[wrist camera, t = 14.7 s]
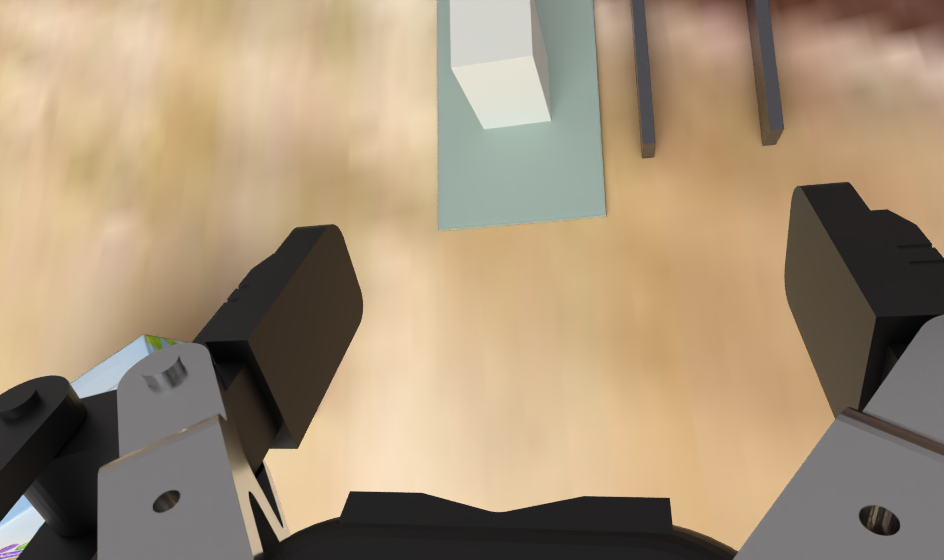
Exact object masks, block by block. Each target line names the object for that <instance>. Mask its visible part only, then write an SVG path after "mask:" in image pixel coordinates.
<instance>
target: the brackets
mask: <svg viewBox="0 0 944 560" xmlns="http://www.w3.org/2000/svg"><path fill="white" fill-rule="evenodd" d="M746 5H747V13H748V22H749V31H750V39H751V48H752V57H753V66H754V74H755V83H756V92H757V100H758V109H759V118H760V126H761V135H762V144H763V146H766V145H775V144H776V143H777V141H778V139H779V137H780V135H781V134H782V132H783V130H784V124H783V116H782V108H781V100H780V92H779V83H778V75H777V67H776V59H775V51H774V43H773V35H772V27H771V18H770V10H769V2H768V0H746ZM631 15H632V28H633V41H634V55H635V68H636V82H637V95H638V109H639V122H640V135H641V149H642V158H651V157H654V153H655V133H654V120H653V108H652V95H651V82H650V70H649V57H648V45H647V32H646V19H645V7H644V0H631Z"/></svg>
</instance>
